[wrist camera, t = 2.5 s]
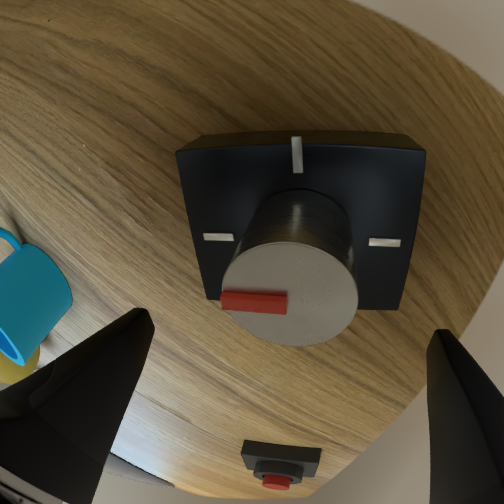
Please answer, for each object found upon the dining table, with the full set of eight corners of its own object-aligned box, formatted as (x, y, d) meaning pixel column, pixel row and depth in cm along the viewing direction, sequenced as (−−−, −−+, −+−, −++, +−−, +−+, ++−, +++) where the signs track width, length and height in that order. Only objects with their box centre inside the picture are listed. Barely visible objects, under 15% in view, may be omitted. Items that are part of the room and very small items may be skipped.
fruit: (3, 275, 28) (-46, 327, 19) (60, 336, 31) (17, 395, 23) (-2, 302, 33) (-39, 345, 25) (46, 352, 36) (13, 399, 28)
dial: (355, 190, 11) (367, 251, 8) (348, 281, 13) (349, 356, 10) (243, 189, 12) (207, 245, 9) (254, 277, 14) (229, 347, 11)
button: (291, 474, 31) (289, 486, 29) (291, 480, 33) (288, 491, 31) (263, 471, 31) (261, 482, 30) (265, 477, 33) (263, 487, 32)
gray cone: (179, 496, 70) (101, 470, 64) (171, 496, 75) (99, 470, 68) (183, 476, 76) (107, 449, 70) (175, 477, 81) (105, 452, 75)
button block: (321, 448, 32) (317, 475, 28) (316, 464, 36) (312, 487, 33) (244, 439, 34) (236, 465, 31) (250, 457, 38) (244, 479, 35)
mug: (85, 312, 26) (39, 374, 19) (42, 306, 28) (1, 356, 21) (28, 200, 20) (-43, 255, 13) (-7, 214, 22) (-61, 258, 15)
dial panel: (407, 128, 12) (428, 143, 9) (389, 279, 16) (397, 317, 14) (200, 130, 14) (171, 145, 12) (223, 271, 19) (206, 306, 16)
